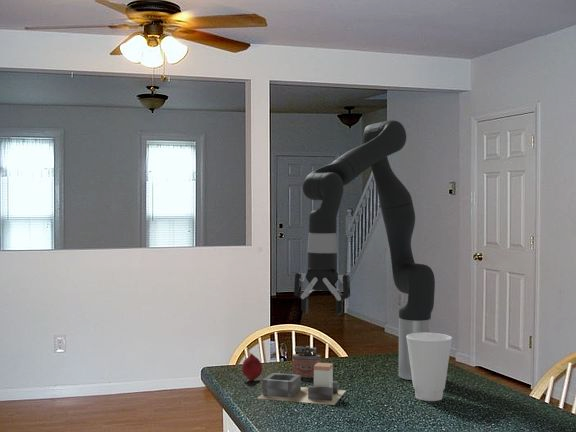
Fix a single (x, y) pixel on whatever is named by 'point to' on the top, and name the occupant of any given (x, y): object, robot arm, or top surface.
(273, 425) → the top surface
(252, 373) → the onion
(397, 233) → the robot arm
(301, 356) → the lighter
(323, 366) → the plug
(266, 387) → the panel
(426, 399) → the cup
